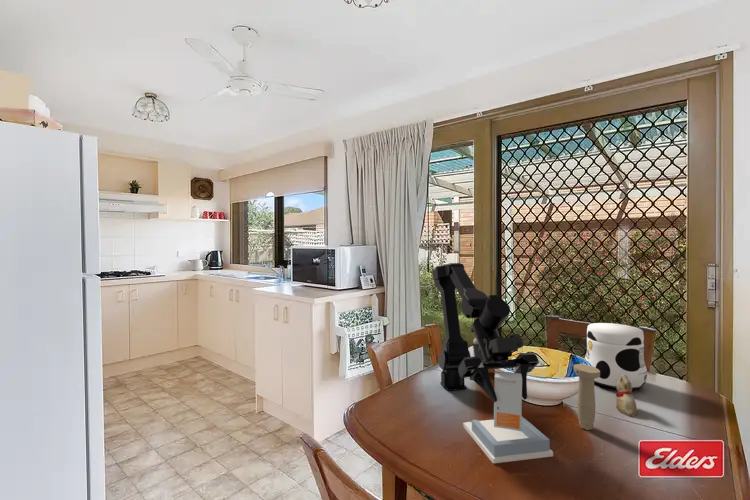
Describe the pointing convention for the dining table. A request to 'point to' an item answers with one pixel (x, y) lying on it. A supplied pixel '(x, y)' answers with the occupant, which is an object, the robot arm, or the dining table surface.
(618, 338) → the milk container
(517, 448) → the stop cradle
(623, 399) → the chocolate bunny
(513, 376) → the skincare box
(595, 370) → the handle
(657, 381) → the dining table surface
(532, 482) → the dining table surface
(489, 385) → the robot arm
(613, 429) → the dining table surface
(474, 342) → the sundae
